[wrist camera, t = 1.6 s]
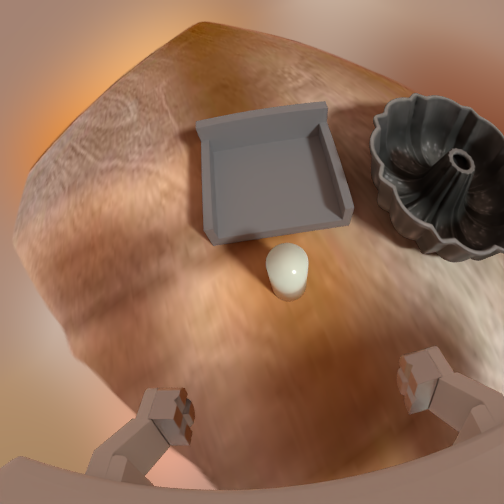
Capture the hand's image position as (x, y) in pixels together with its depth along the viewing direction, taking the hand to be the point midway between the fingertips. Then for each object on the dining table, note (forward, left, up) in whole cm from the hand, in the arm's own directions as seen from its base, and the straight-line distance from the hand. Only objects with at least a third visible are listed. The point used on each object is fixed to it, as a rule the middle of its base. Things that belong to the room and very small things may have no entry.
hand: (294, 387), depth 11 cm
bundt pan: (+21, -26, -28) cm, 44 cm away
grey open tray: (+26, -1, -28) cm, 38 cm away
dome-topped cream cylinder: (+12, -1, -28) cm, 30 cm away
